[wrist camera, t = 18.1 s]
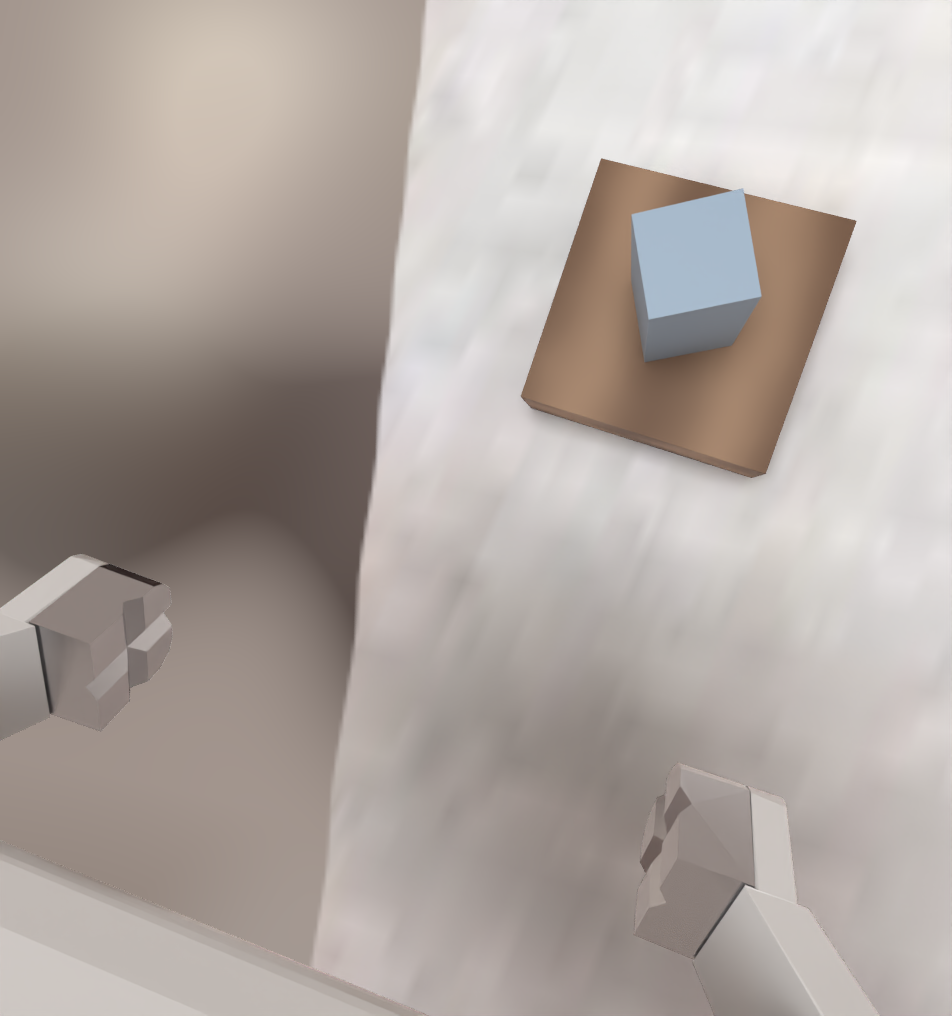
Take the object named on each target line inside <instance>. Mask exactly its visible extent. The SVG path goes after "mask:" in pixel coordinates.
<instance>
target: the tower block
mask: <svg viewBox="0 0 952 1016" xmlns="http://www.w3.org/2000/svg"><path fill="white" fill-rule="evenodd" d="M631 283H632V289H633V295H634V301H635V307H636V313H637V319H638V326H639V332H640V338H641V344H642V350H643V356H644V362H649V361H654V360H659V359H664V358H670V357H675V356H680V355H685V354H690V353H696V352H701V351H706V350H711V349H716V348H721V347H727V346H732V344H733V343H734V341H735V339H736V338H737V336H738V334H739V333H740V331H741V330H742V328H743V326H744V325H745V323H746V321H747V320H748V318H749V316H750V315H751V313H752V312H753V310H754V308H755V307H756V305H757V303H758V302H759V300H760V298H761V297H762V296H761V290H760V284H759V278H758V272H757V266H756V261H755V255H754V249H753V243H752V237H751V231H750V225H749V220H748V214H747V208H746V202H745V196H744V190H743V189H738V190H734V191H730V192H726V193H721V194H717V195H713V196H708V197H704V198H700V199H695V200H691V201H687V202H683V203H678V204H674V205H670V206H665V207H661V208H657V209H652V210H648V211H644V212H640V213H635V214H631Z"/></svg>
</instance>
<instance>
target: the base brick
mask: <svg viewBox="0 0 952 1016" xmlns="http://www.w3.org/2000/svg"><path fill="white" fill-rule="evenodd" d="M730 191H732V190H728V189H724V188H720V187H716V186H712V185H708V184H704V183H699V182H695V181H691V180H687V179H683V178H679V177H675V176H671V175H667V174H663V173H658V172H654V171H650V170H646V169H642V168H638V167H634V166H630V165H626V164H622V163H618V162H613V161H609V160H605V159H601V161H600V164H599V167H598V170H597V172H596V175H595V178H594V181H593V184H592V187H591V190H590V193H589V196H588V199H587V202H586V205H585V208H584V211H583V214H582V217H581V220H580V223H579V226H578V229H577V232H576V235H575V238H574V241H573V244H572V246H571V249H570V252H569V255H568V258H567V261H566V264H565V267H564V270H563V273H562V276H561V279H560V282H559V285H558V288H557V291H556V294H555V297H554V300H553V303H552V306H551V309H550V312H549V315H548V317H547V320H546V323H545V326H544V329H543V332H542V335H541V338H540V341H539V344H538V347H537V350H536V353H535V356H534V359H533V362H532V365H531V368H530V371H529V374H528V377H527V380H526V383H525V386H524V389H523V391H522V394H521V397H522V398H523V399H524V401H525V402H526V403H527V404H528V405H529V406H530V407H531V408H533V409H537V410H540V411H543V412H546V413H549V414H552V415H555V416H559V417H562V418H565V419H568V420H571V421H574V422H578V423H581V424H584V425H587V426H590V427H593V428H596V429H600V430H603V431H606V432H609V433H612V434H615V435H618V436H622V437H625V438H628V439H631V440H634V441H637V442H641V443H644V444H647V445H650V446H653V447H656V448H659V449H663V450H666V451H669V452H672V453H675V454H678V455H681V456H685V457H688V458H691V459H694V460H697V461H700V462H704V463H707V464H710V465H713V466H716V467H719V468H722V469H726V470H729V471H732V472H735V473H738V474H741V475H744V476H748V477H751V478H752V477H756V476H759V475H763V474H766V471H767V468H768V465H769V463H770V460H771V457H772V454H773V451H774V449H775V446H776V443H777V440H778V438H779V435H780V432H781V429H782V427H783V424H784V421H785V418H786V415H787V413H788V410H789V407H790V404H791V402H792V399H793V396H794V393H795V390H796V388H797V385H798V382H799V379H800V377H801V374H802V371H803V368H804V366H805V363H806V360H807V357H808V354H809V352H810V349H811V346H812V343H813V341H814V338H815V335H816V332H817V329H818V327H819V324H820V321H821V318H822V316H823V313H824V310H825V307H826V305H827V302H828V299H829V296H830V293H831V291H832V288H833V285H834V282H835V280H836V277H837V274H838V271H839V268H840V266H841V263H842V260H843V257H844V255H845V252H846V249H847V246H848V243H849V241H850V238H851V235H852V232H853V230H854V227H855V224H856V221H855V220H851V219H847V218H843V217H839V216H834V215H830V214H826V213H822V212H818V211H814V210H810V209H806V208H802V207H798V206H794V205H789V204H785V203H781V202H777V201H773V200H769V199H765V198H761V197H757V196H753V195H749V194H744V196H745V202H746V208H747V214H748V220H749V225H750V231H751V237H752V243H753V249H754V255H755V261H756V266H757V272H758V278H759V284H760V290H761V296H762V297H761V298H760V300H759V302H758V303H757V305H756V307H755V308H754V310H753V312H752V313H751V315H750V316H749V318H748V320H747V321H746V323H745V325H744V326H743V328H742V330H741V331H740V333H739V334H738V336H737V338H736V339H735V341H734V343H733V344H732V346H727V347H721V348H716V349H711V350H706V351H701V352H696V353H690V354H685V355H680V356H675V357H670V358H664V359H659V360H654V361H649V362H644V356H643V350H642V344H641V338H640V332H639V326H638V319H637V313H636V307H635V301H634V295H633V289H632V283H631V214H635V213H640V212H644V211H648V210H652V209H657V208H661V207H665V206H670V205H674V204H678V203H683V202H687V201H691V200H695V199H700V198H704V197H708V196H713V195H717V194H721V193H726V192H730Z"/></svg>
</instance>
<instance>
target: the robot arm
mask: <svg viewBox="0 0 952 1016" xmlns="http://www.w3.org/2000/svg"><path fill="white" fill-rule="evenodd" d="M170 605H171V595H170V588H169V587H167V586H166V585H164V584H162V583H160V582H157V581H154V580H152V579H149V578H146V577H144V576H141V575H138V574H136V573H133V572H131V571H128V570H125V569H122V568H120V567H117V566H115V565H112V564H108V563H105V562H103V561H100V560H97V559H95V558H92V557H89V556H87V555H84V554H79V555H75V556H71V557H69V558H68V559H67V560H65V561H64V562H62V563H61V564H60V565H58V566H57V567H56V568H54V569H53V570H52V571H51V572H49V573H47V574H46V575H45V576H43V577H42V578H41V579H39V580H38V581H37V582H35V583H34V584H33V585H31V586H30V587H28V588H27V589H26V590H24V591H23V592H22V593H20V594H19V595H17V596H16V597H15V598H13V599H12V600H11V601H9V602H8V603H7V604H5V605H4V606H2V607H1V608H0V740H2V739H4V738H7V737H9V736H11V735H13V734H15V733H17V732H20V731H22V730H24V729H26V728H28V727H30V726H32V725H35V724H36V723H39V722H41V721H43V720H45V719H47V718H50V714H52V715H54V716H57V717H60V718H63V719H66V720H69V721H72V722H75V723H77V724H80V725H83V726H86V727H89V728H92V729H95V730H98V731H102V730H103V729H104V728H105V727H106V726H107V724H108V723H109V722H110V721H111V720H112V719H113V718H114V717H115V716H116V715H117V714H118V713H119V712H120V711H121V710H122V709H123V708H124V707H125V705H126V704H127V703H128V702H129V701H130V688H131V687H133V686H136V685H139V684H142V683H144V682H147V681H149V680H150V679H151V678H152V677H153V675H154V674H155V673H156V672H157V671H158V670H159V669H160V667H161V666H162V663H163V662H164V660H165V658H166V656H167V654H168V652H169V649H170V645H171V641H172V625H171V623H170V622H169V620H168V619H167V617H166V616H165V614H164V613H163V612H164V611H165V610H166V609H167V608H168V607H169V606H170ZM640 863H641V865H642V867H643V869H644V871H645V873H646V874H645V876H644V878H643V880H642V882H641V884H640V886H639V888H638V890H637V899H636V911H635V923H634V935H636V936H638V937H641V938H643V939H645V940H648V941H650V942H653V943H655V944H658V945H660V946H662V947H665V948H667V949H670V950H672V951H675V952H677V953H680V954H682V955H684V956H687V957H689V958H692V959H694V960H693V962H692V963H693V965H694V967H695V970H696V972H697V975H698V977H699V979H700V982H701V984H702V987H703V989H704V991H705V994H706V996H707V999H708V1001H709V1004H710V1006H711V1008H712V1011H713V1013H714V1016H880V1015H879V1014H878V1012H877V1011H876V1009H875V1008H874V1006H873V1005H872V1003H871V1002H870V1000H869V999H868V997H867V996H866V994H865V993H864V991H863V990H862V988H861V987H860V985H859V984H858V982H857V981H856V979H855V978H854V976H853V975H852V973H851V972H850V970H849V969H848V967H847V966H846V964H845V963H844V961H843V960H842V958H841V957H840V955H839V954H838V952H837V950H836V949H835V947H834V946H833V944H832V943H831V941H830V940H829V938H828V937H827V935H826V934H825V932H824V931H823V929H822V928H821V926H820V925H819V923H818V922H817V920H816V919H815V917H814V916H813V914H812V913H811V911H810V910H809V909H808V908H806V907H803V906H801V905H798V903H797V894H796V885H795V876H794V868H793V859H792V850H791V841H790V832H789V823H788V815H787V806H786V803H785V801H784V800H783V798H782V797H779V796H776V795H773V794H770V793H767V792H764V791H761V790H758V789H755V788H752V787H749V786H745V785H744V784H741V783H738V782H735V781H732V780H729V779H726V778H723V777H720V776H717V775H714V774H711V773H708V772H705V771H702V770H699V769H696V768H693V767H690V766H687V765H684V764H681V763H678V762H677V763H676V764H675V765H674V766H673V767H672V769H671V771H670V773H669V775H668V777H667V780H666V794H665V795H663V796H660V797H658V798H656V800H655V803H654V805H653V807H652V809H651V811H650V813H649V817H648V820H647V823H646V826H645V830H644V834H643V840H642V845H641V855H640ZM0 1016H429V1015H426V1014H424V1013H421V1012H419V1011H417V1010H414V1009H412V1008H409V1007H407V1006H404V1005H402V1004H400V1003H397V1002H395V1001H392V1000H390V999H387V998H385V997H382V996H380V995H378V994H375V993H373V992H370V991H368V990H365V989H363V988H361V987H358V986H356V985H353V984H351V983H348V982H346V981H343V980H341V979H339V978H336V977H334V976H331V975H329V974H326V973H324V972H322V971H319V970H317V969H314V968H312V967H309V966H307V965H304V964H302V963H299V962H297V961H295V960H292V959H289V958H287V957H285V956H282V955H280V954H278V953H275V952H272V951H270V950H268V949H265V948H263V947H260V946H258V945H256V944H253V943H251V942H248V941H246V940H243V939H241V938H238V937H235V936H233V935H231V934H229V933H226V932H223V931H221V930H219V929H216V928H214V927H211V926H209V925H207V924H204V923H202V922H199V921H197V920H194V919H192V918H189V917H187V916H184V915H182V914H180V913H177V912H175V911H172V910H169V909H167V908H165V907H162V906H160V905H157V904H155V903H153V902H150V901H148V900H145V899H143V898H140V897H138V896H136V895H133V894H130V893H128V892H126V891H123V890H121V889H118V888H116V887H114V886H111V885H109V884H106V883H104V882H101V881H99V880H96V879H94V878H92V877H89V876H87V875H84V874H82V873H79V872H77V871H75V870H72V869H69V868H67V867H65V866H62V865H60V864H57V863H55V862H52V861H50V860H48V859H45V858H43V857H40V856H38V855H35V854H33V853H30V852H28V851H26V850H23V849H21V848H18V847H16V846H13V845H11V844H8V843H6V842H4V841H1V840H0Z"/></svg>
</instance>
